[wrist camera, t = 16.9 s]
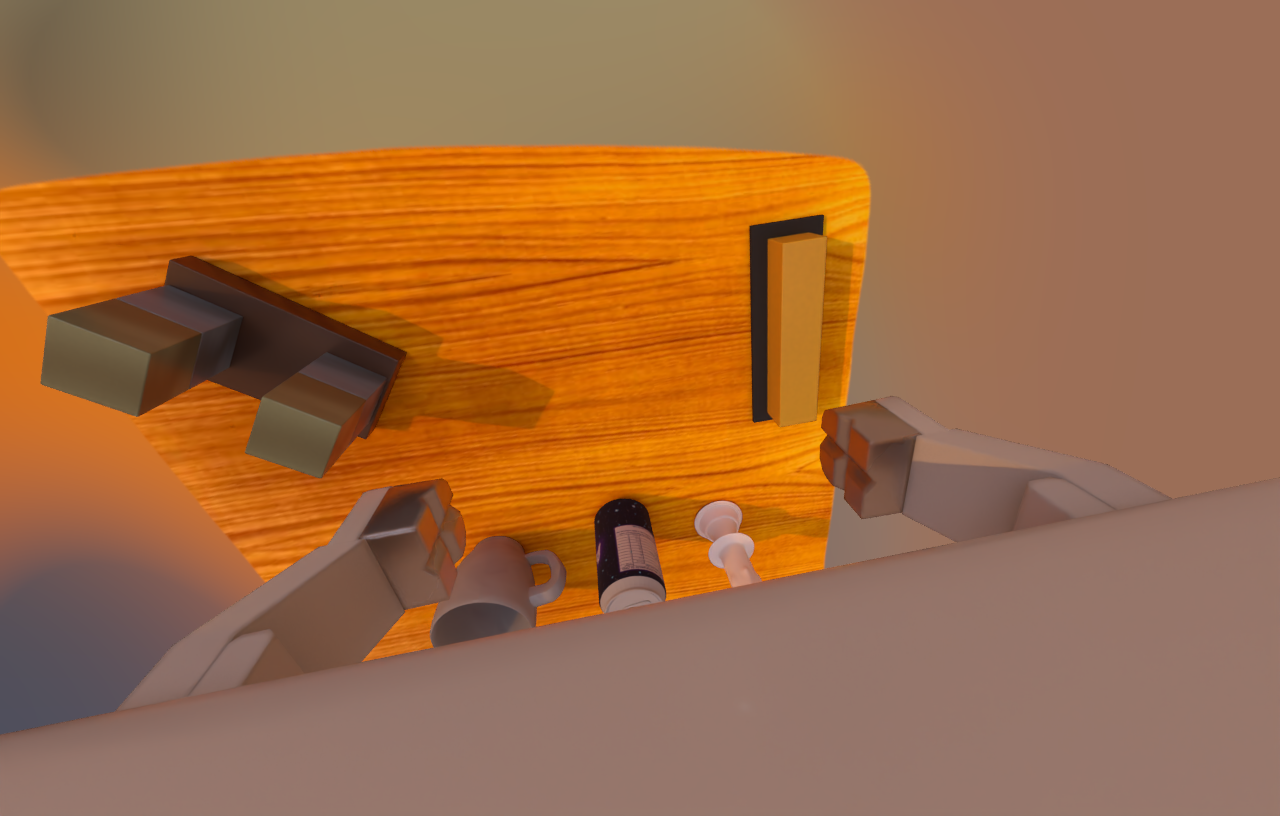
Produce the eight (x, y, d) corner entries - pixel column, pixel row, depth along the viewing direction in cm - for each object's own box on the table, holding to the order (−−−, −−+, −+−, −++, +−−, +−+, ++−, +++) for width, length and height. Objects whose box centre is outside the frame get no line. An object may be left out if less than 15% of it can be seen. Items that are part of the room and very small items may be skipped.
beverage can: (586, 502, 46) (590, 598, 35) (640, 486, 46) (660, 578, 35) (603, 541, 49) (611, 642, 38) (653, 526, 49) (675, 623, 38)
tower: (191, 254, 32) (43, 283, 23) (407, 352, 37) (354, 406, 28) (170, 349, 34) (31, 407, 26) (375, 428, 39) (317, 499, 31)
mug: (481, 595, 50) (462, 681, 41) (438, 540, 46) (407, 623, 37) (582, 558, 49) (584, 637, 41) (547, 500, 45) (542, 574, 37)
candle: (687, 534, 50) (718, 630, 39) (705, 495, 48) (742, 586, 37) (730, 541, 51) (771, 636, 40) (749, 504, 49) (798, 594, 38)
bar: (809, 232, 36) (827, 236, 34) (801, 406, 44) (816, 420, 41) (767, 238, 36) (782, 243, 33) (767, 412, 44) (779, 427, 41)
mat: (749, 225, 36) (751, 226, 36) (821, 214, 36) (824, 214, 36) (752, 420, 44) (754, 422, 44) (811, 410, 45) (813, 412, 44)
